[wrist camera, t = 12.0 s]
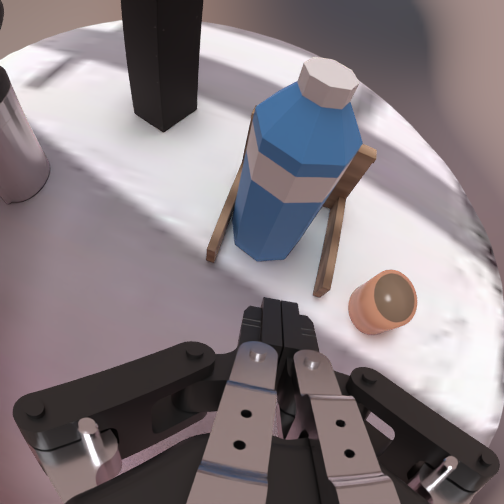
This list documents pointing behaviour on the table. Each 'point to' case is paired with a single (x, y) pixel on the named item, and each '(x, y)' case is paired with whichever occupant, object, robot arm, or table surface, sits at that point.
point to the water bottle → (295, 158)
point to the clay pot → (383, 303)
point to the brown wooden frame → (333, 202)
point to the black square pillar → (162, 57)
